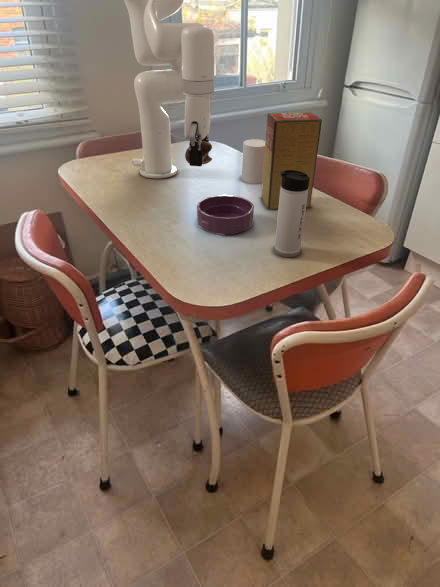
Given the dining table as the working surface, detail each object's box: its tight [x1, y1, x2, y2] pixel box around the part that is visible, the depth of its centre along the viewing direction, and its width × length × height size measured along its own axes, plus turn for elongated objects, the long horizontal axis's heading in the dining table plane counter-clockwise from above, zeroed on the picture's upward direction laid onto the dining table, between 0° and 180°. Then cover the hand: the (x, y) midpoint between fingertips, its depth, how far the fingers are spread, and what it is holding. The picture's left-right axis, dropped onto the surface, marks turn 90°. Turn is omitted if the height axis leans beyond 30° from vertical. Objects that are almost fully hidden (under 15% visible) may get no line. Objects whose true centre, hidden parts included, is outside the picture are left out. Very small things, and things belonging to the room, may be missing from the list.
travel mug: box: [273, 170, 310, 258], centre depth 103 cm, size 6×7×20 cm
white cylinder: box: [241, 138, 266, 184], centre depth 146 cm, size 8×8×12 cm
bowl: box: [196, 194, 255, 235], centre depth 120 cm, size 15×15×5 cm
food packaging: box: [260, 111, 323, 210], centre depth 126 cm, size 13×9×25 cm
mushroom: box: [184, 141, 213, 165], centre depth 114 cm, size 8×8×6 cm
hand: (199, 159), depth 115 cm, fingers closed on mushroom, 8 cm apart
